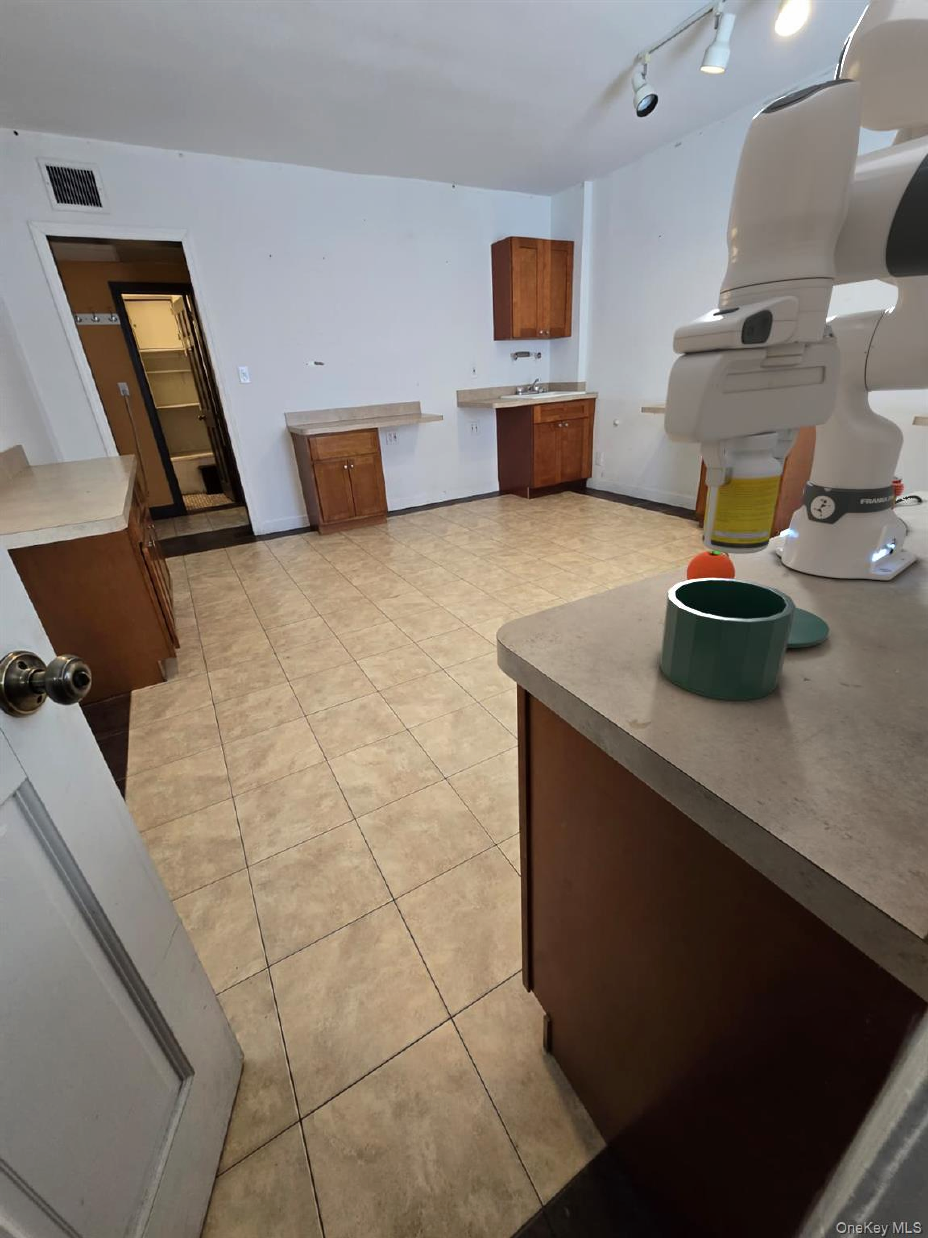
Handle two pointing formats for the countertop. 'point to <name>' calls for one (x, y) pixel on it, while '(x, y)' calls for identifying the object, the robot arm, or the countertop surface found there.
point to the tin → (725, 637)
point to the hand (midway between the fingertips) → (743, 480)
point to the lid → (806, 629)
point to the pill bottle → (744, 497)
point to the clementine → (711, 566)
